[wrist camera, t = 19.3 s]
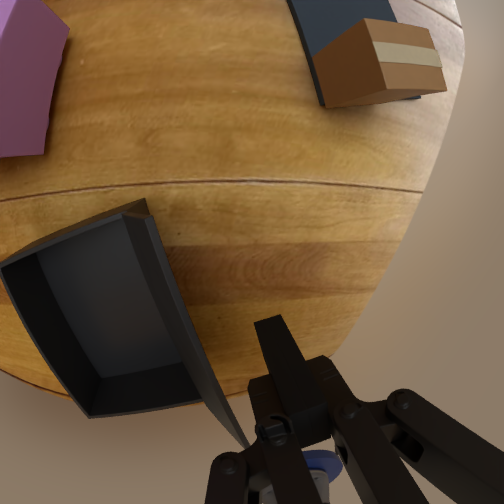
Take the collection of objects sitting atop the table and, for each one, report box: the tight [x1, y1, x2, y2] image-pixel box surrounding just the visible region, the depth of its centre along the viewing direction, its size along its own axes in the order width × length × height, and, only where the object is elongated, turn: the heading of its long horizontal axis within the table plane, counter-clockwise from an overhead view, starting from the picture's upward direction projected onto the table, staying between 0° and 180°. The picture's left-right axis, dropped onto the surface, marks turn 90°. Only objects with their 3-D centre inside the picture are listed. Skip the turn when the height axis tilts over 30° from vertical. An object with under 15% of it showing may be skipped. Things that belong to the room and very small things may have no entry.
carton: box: [0, 198, 203, 419], centre depth 22 cm, size 17×13×6 cm
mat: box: [287, 0, 421, 105], centre depth 20 cm, size 19×12×1 cm, turn 14°
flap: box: [122, 212, 250, 449], centre depth 16 cm, size 17×6×1 cm
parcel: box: [312, 18, 447, 109], centre depth 17 cm, size 5×6×9 cm
